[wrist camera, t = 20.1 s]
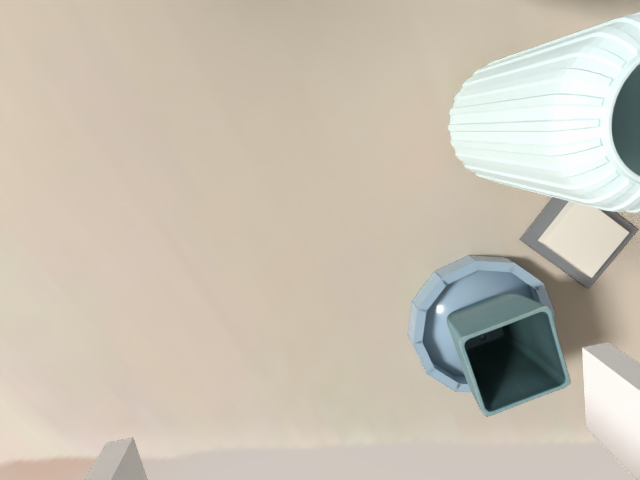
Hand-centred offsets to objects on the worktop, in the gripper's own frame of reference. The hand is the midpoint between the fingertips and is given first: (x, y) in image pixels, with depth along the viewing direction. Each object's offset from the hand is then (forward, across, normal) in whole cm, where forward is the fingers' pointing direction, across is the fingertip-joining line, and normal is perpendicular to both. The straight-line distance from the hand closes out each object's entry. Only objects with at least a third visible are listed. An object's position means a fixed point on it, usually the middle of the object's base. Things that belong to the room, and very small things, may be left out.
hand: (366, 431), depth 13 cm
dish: (+35, +16, -16) cm, 41 cm away
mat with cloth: (+35, +28, -8) cm, 45 cm away
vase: (+35, +20, +6) cm, 41 cm away
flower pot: (+34, +16, -16) cm, 41 cm away
